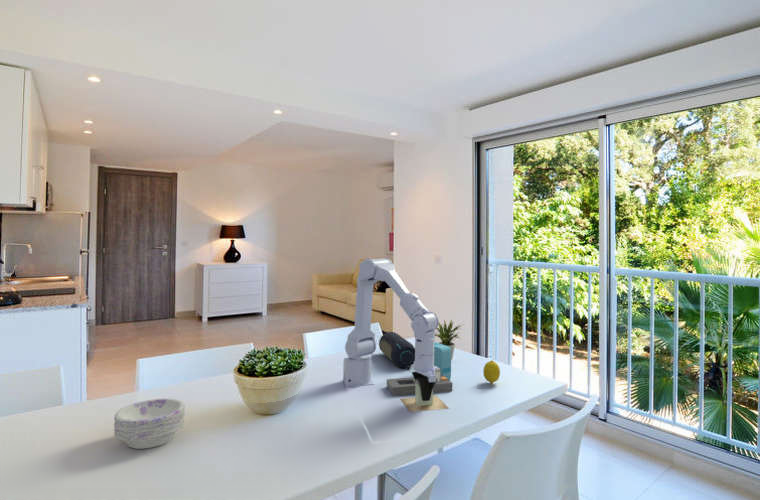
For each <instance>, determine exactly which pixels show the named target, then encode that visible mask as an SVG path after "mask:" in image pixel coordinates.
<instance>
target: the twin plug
mask: <svg viewBox="0 0 760 500" xmlns="http://www.w3.org/2000/svg"><path fill="white" fill-rule="evenodd" d="M437 368H438V367H437ZM435 375H436V378H437V382H440V369H439V368H438V370H435Z"/></svg>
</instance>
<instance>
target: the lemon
mask: <svg viewBox="0 0 760 500" xmlns="http://www.w3.org/2000/svg"><path fill="white" fill-rule="evenodd" d="M482 371H483V377H484V379H485V380H486V381H487V382H489V383H490V384H494V383H495V382H497V381H498V380H499V378H500V375H501V370H500V366H499V365H498V363H497V362H495V361H494V360H492V359H491V360H490V361H486V363H484V366H483V370H482Z"/></svg>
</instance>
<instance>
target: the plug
mask: <svg viewBox="0 0 760 500" xmlns="http://www.w3.org/2000/svg"><path fill="white" fill-rule="evenodd" d="M414 395H415V397H414V398H415V402H416V404H417V405H418V406H424V405H433V396H434V393H433V390H432V393H431V397H430V400H429V401H423V400H422V396H421V388H420V384H419V381H418V379H416V381H415V394H414Z"/></svg>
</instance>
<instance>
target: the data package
mask: <svg viewBox="0 0 760 500" xmlns="http://www.w3.org/2000/svg"><path fill="white" fill-rule="evenodd" d="M434 366H436V367H438V368H439V369H440V375H444V376H445V377H446V378H447V379H448V380H450V381H451V378H452V360H451V349H450V347H449V346H446V345H442V344H439V342H435V341H434Z"/></svg>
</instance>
